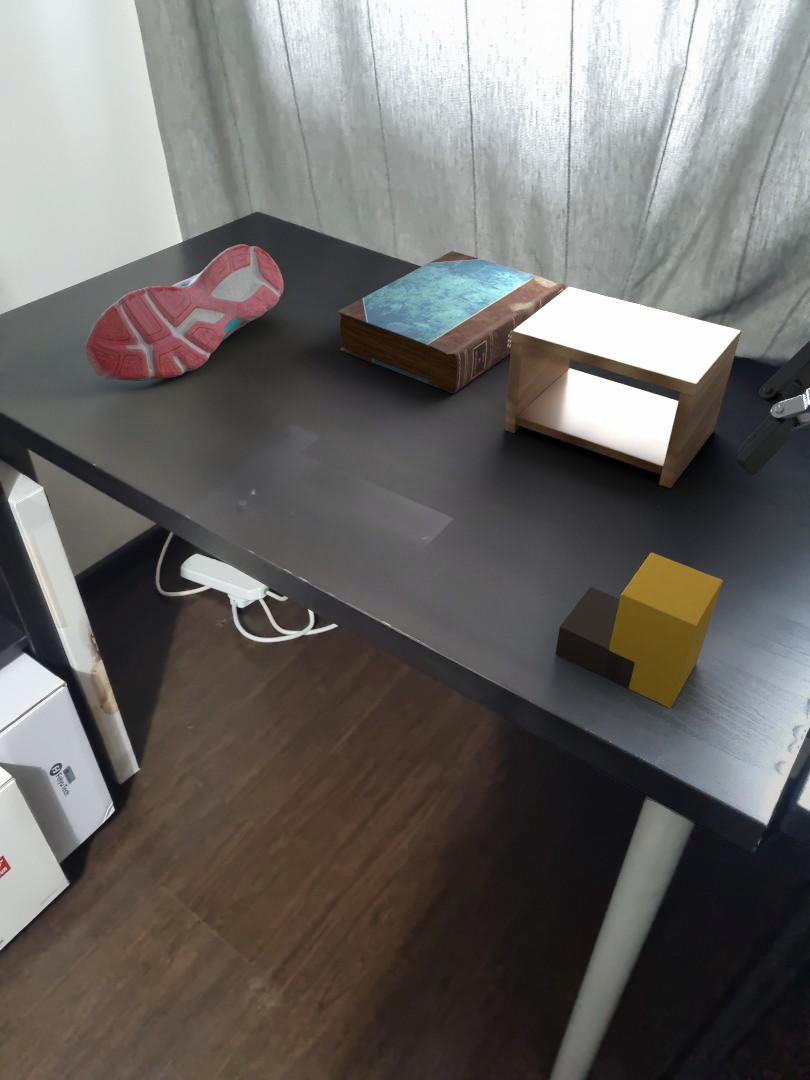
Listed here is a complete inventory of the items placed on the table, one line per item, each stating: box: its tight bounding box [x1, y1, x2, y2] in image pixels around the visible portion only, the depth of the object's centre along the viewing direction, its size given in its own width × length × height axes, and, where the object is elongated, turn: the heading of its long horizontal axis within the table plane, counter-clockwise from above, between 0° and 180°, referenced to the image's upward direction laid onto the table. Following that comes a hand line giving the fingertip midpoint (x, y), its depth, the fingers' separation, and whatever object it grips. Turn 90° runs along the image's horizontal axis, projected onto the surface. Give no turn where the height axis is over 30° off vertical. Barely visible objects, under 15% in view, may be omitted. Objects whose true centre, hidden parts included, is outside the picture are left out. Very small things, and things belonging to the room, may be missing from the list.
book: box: [337, 250, 566, 394], centre depth 100 cm, size 23×18×5 cm
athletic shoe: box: [84, 243, 284, 382], centre depth 99 cm, size 27×9×12 cm
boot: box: [555, 552, 724, 709], centre depth 59 cm, size 9×5×8 cm, turn 55°
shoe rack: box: [504, 286, 742, 489], centre depth 82 cm, size 18×12×11 cm, turn 55°
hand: (788, 502), depth 56 cm, fingers open, 8 cm apart
